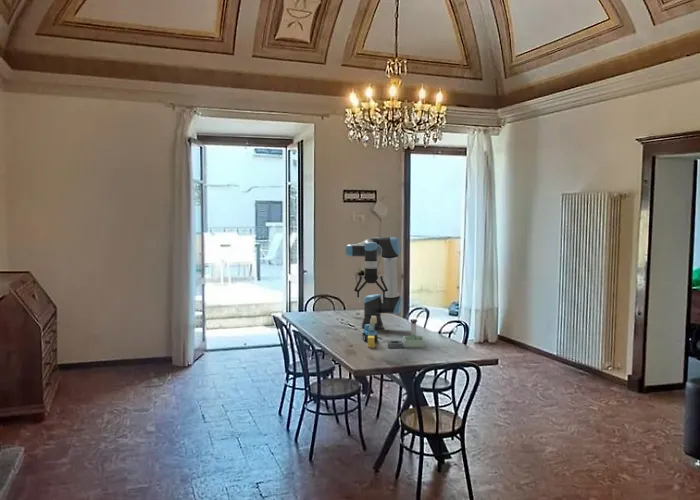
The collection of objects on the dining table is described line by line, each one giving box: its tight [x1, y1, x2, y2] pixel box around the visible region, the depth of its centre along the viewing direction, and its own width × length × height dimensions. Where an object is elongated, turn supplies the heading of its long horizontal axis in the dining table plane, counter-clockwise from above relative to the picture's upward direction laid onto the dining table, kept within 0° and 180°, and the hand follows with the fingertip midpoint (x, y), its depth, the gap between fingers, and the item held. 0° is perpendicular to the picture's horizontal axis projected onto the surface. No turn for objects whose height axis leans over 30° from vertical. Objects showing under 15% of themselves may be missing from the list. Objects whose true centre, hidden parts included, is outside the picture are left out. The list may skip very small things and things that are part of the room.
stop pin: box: [410, 318, 418, 340], centre depth 363 cm, size 4×4×15 cm
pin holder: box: [386, 340, 404, 349], centre depth 362 cm, size 9×9×2 cm
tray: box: [402, 335, 426, 349], centre depth 363 cm, size 12×12×4 cm
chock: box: [367, 336, 376, 349], centre depth 362 cm, size 4×6×6 cm, turn 179°
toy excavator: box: [361, 316, 379, 342], centre depth 376 cm, size 9×17×17 cm, turn 11°
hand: (371, 302), depth 360 cm, fingers open, 13 cm apart
